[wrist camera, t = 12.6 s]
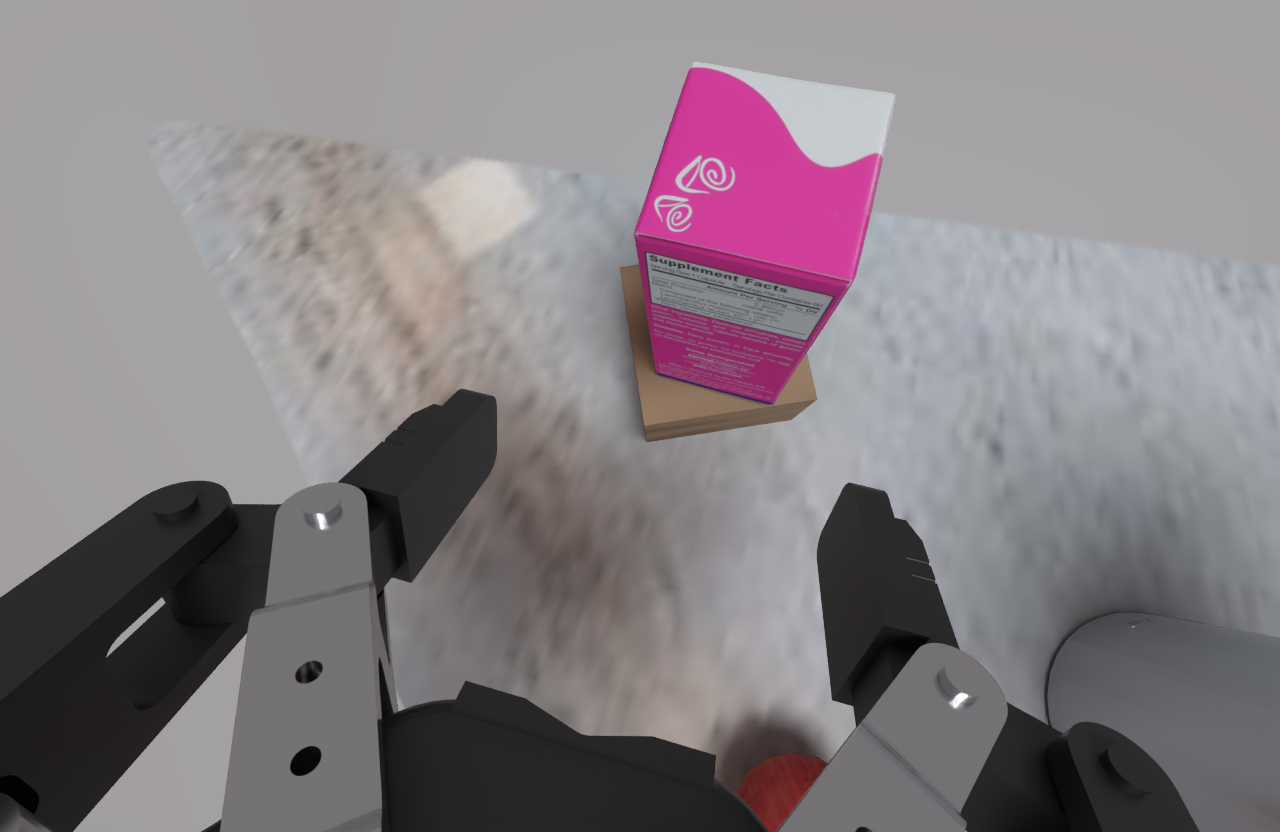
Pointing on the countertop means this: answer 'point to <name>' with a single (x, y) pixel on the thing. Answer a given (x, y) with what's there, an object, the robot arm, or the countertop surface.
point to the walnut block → (691, 406)
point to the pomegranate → (779, 786)
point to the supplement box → (755, 223)
